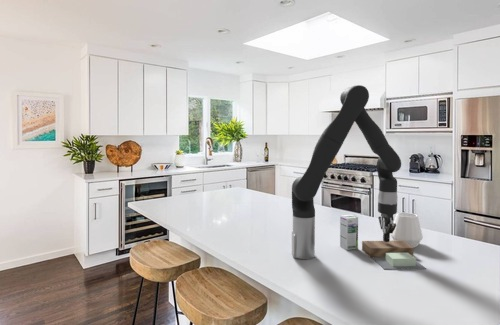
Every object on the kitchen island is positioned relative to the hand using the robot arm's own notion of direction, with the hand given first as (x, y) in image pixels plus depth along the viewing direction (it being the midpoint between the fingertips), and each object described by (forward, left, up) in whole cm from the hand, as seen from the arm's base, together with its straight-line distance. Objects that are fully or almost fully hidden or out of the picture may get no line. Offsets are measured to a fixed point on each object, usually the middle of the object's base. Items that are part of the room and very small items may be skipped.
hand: (386, 241), depth 135 cm
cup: (+14, +11, -5) cm, 18 cm away
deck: (0, -1, -5) cm, 5 cm away
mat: (0, -11, -5) cm, 12 cm away
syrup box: (-14, +7, -5) cm, 16 cm away
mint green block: (0, -12, -3) cm, 12 cm away
